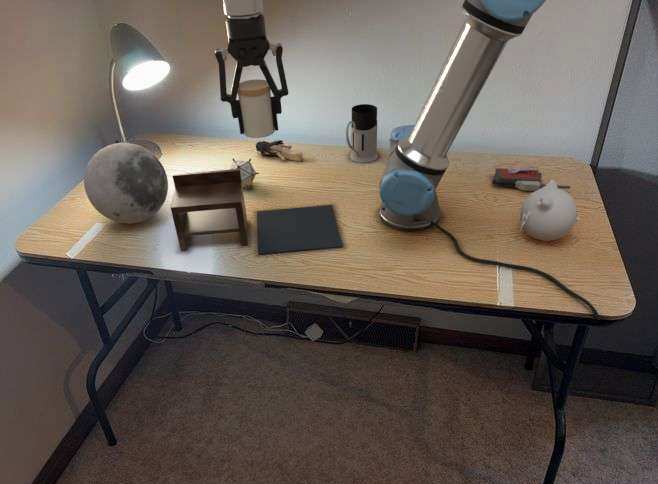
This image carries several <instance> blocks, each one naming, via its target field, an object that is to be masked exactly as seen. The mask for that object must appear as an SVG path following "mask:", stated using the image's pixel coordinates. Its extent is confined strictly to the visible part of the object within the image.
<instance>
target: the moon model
mask: <svg viewBox="0 0 658 484" xmlns="http://www.w3.org/2000/svg"><path fill="white" fill-rule="evenodd" d="M83 186H84V191H85V194H86V197H87V198H88V200H89V203H90V204H91V205H92V207H93V208H94V209H95V210H96V211H97V212H98V213H99V214H100V215H102V216H103V217H105V218H106V219H109V220H110V221H112V222H115V223H121V224H137V223H141V222H145V221H146V220H148V219H150V218H152V217H153V216H155V215H156V214H157V213H158V212H159V211H160V210H161V208H162V207H163V206H164V204H165V202H166V199H167V196H168V191H169V180H168V175H167V172H166V170H165V168H164V166H163V164H162V162H161V161H160V160H159V158H158V157H157V156H156V155H155V154H154V153H152V152H151V151H150V150H148V149H147V148H145V147H143V146H141V145H138V144H136V143H135V144H134V143H131V142H117V143H112V144H108V145H107V146H104V147H102V148H100V149H99V150H98V151H97V152H96V153H94V155H92V156H91V158H90V159H89V161H88V163H87V165H86V167H85V170H84V175H83Z"/></svg>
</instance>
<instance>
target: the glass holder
mask: <svg viewBox="0 0 658 484" xmlns="http://www.w3.org/2000/svg"><path fill="white" fill-rule="evenodd" d="M346 124H347V125H346V127H345V138H346V139H345V140H346V143H347V146H348V147H349V149H350V154H349V159H350V160H351V161H353V162H355V163H363V164H364V163H371V162H374V161H376V160H377V159H378V157H379V155H378V152H377V151H378V145H377V144H378V107H377V106H376V105H374V104H369V103H362V104H356V105H353V106H352V107H351V120H349V121H348V123H346ZM349 129H350V137H349Z"/></svg>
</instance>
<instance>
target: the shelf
mask: <svg viewBox="0 0 658 484" xmlns="http://www.w3.org/2000/svg"><path fill="white" fill-rule="evenodd" d="M172 180H173V184H174V185H173V186H174V190H173V195H172V199H171V203H170V212H171V215H172V221H173V224H174V229H175V232H176V237H177V241H178V246H179V250H180V252H181V253H183V252H187V251H188V249H189V248H188V247H189V240H190V237H198V236H210V235H219V234H231V233H232V234H233V233H239V239H240V245H241V247H246V246H247V247H248V243H249V242H248V241H249V240H248V236H249V234H248V228H249V227H248V226H249V225H248V216H247V209H246V202H245V194H244V187H243V186H242V179H241V172H240V169H230V168H229V169H219V170H207V171H195V172H194V171H193V172H183V173H172Z"/></svg>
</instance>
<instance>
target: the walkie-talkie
mask: <svg viewBox="0 0 658 484" xmlns="http://www.w3.org/2000/svg"><path fill="white" fill-rule="evenodd" d="M493 177H494V179H493V180H491V181H492V182H491V183H492V184H493V185H495V186H496V187H499V188H515V189H518V190H521V191H527V192H529V191H530V192H535V191H537V190H539V189H541V188H543V187H545V186H546V185H547V184H544V183H541V182H542V181H543V178H542V173H541V172H539V170H538V169H536V168H535V167H534V166H518V167H516V168H512V167H507V168H502V167H497V168H495V171H494V175H493ZM557 187H558V188H559V189H561V190H564V189H565V190H569V189H571V186H570V185H558V184H557Z"/></svg>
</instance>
